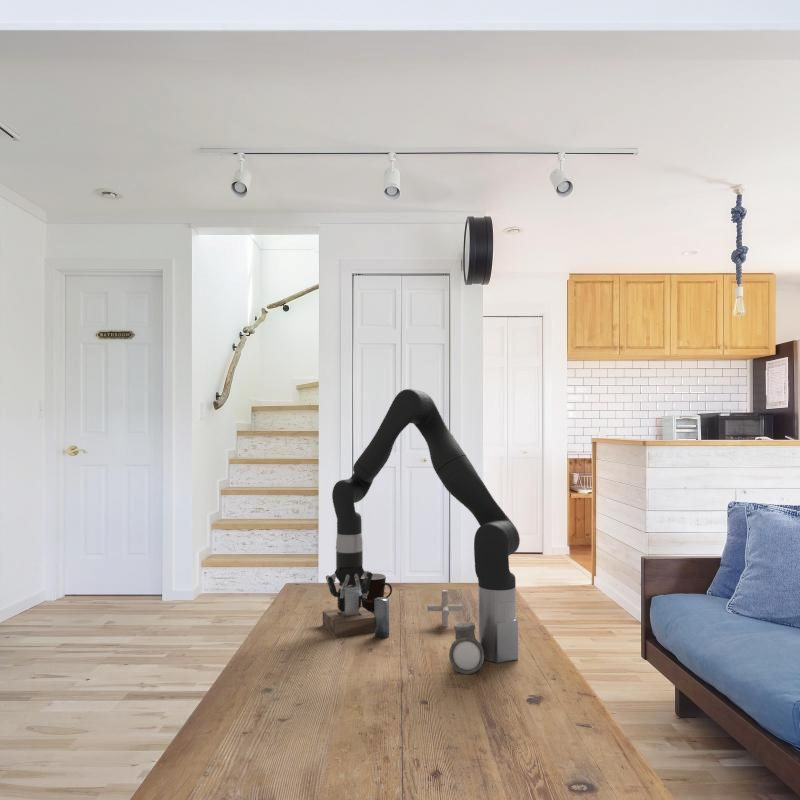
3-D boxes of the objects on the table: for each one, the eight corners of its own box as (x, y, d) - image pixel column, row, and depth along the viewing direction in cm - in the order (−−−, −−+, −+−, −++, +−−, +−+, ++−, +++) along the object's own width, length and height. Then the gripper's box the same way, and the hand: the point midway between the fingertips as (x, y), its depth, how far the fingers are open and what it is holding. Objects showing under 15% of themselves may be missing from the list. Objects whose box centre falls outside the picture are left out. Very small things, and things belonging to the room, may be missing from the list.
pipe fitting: (485, 674, 149) (481, 627, 151) (450, 675, 150) (446, 629, 152) (485, 661, 161) (482, 618, 162) (453, 662, 162) (449, 620, 163)
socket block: (377, 631, 182) (377, 616, 182) (336, 637, 177) (336, 622, 177) (361, 619, 193) (361, 606, 193) (322, 625, 187) (322, 611, 188)
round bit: (391, 637, 176) (391, 600, 177) (377, 639, 175) (377, 601, 175) (385, 633, 180) (385, 596, 180) (372, 635, 178) (372, 598, 179)
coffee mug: (354, 606, 206) (354, 574, 207) (379, 603, 210) (379, 572, 210) (368, 616, 196) (368, 582, 196) (394, 612, 200) (394, 579, 200)
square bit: (358, 622, 184) (358, 586, 184) (345, 624, 182) (345, 588, 182) (353, 618, 187) (353, 583, 188) (340, 620, 186) (340, 584, 186)
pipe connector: (463, 631, 181) (463, 595, 182) (428, 631, 181) (427, 595, 182) (461, 620, 191) (460, 586, 192) (427, 620, 191) (427, 586, 192)
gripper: (329, 553, 179) (330, 616, 178) (377, 549, 185) (377, 610, 184) (321, 549, 186) (321, 609, 185) (367, 545, 192) (367, 603, 191)
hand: (349, 609), depth 185 cm, fingers closed on square bit, 4 cm apart
